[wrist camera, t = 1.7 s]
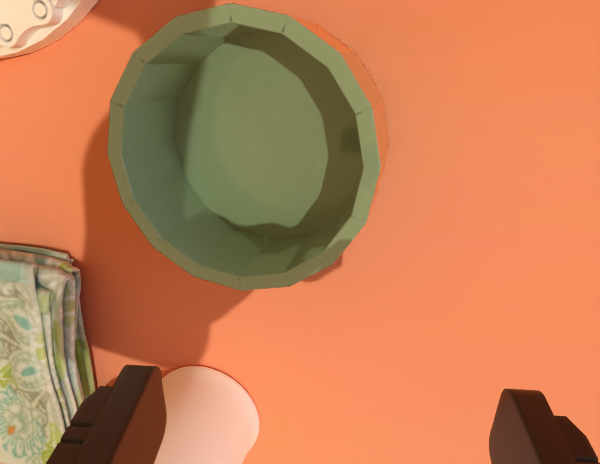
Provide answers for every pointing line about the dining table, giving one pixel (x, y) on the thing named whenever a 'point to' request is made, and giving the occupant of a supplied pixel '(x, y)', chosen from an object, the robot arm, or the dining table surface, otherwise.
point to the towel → (39, 352)
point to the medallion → (37, 23)
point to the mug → (206, 418)
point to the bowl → (247, 145)
